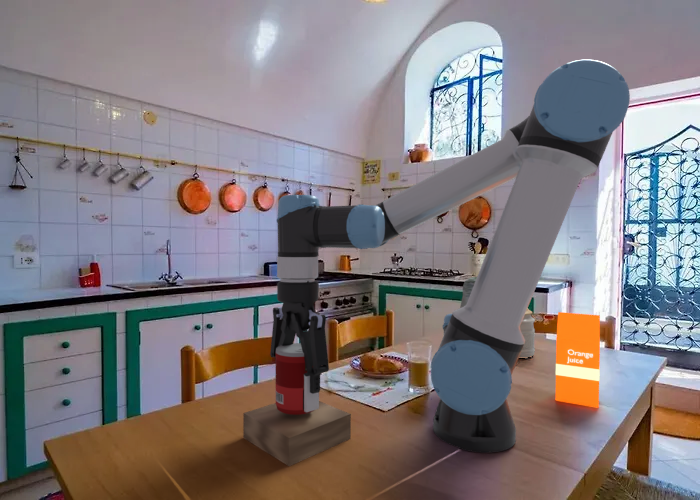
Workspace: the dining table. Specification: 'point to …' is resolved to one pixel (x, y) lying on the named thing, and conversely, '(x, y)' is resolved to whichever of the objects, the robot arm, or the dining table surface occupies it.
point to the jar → (527, 334)
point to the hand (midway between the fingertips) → (297, 402)
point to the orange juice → (578, 359)
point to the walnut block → (296, 431)
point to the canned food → (290, 379)
